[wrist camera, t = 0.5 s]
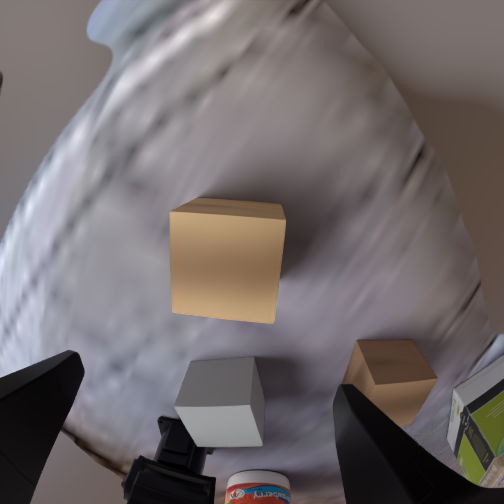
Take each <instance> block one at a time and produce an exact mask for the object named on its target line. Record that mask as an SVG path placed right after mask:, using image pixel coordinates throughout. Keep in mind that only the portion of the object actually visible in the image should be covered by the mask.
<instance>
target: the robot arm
mask: <svg viewBox="0 0 504 504" xmlns="http://www.w3.org/2000/svg"><path fill="white" fill-rule="evenodd" d="M84 373H85V370H84V367H83V364H82V361H81V358H80V355H79V354H78V353H77V352H75V351H71V350H67V351H65V352H62V353H60V354H58V355H55V356H53V357H50V358H48V359H45V360H43V361H41V362H38V363H36V364H33V365H31V366H28V367H26V368H23V369H21V370H19V371H16V372H14V373H11V374H9V375H6V376H4V377H1V378H0V504H30V502H31V499H32V496H33V494H34V491H35V489H36V486H37V483H38V480H39V478H40V475H41V473H42V470H43V468H44V466H45V463H46V460H47V458H48V456H49V454H50V452H51V449H52V447H53V445H54V443H55V441H56V438H57V436H58V434H59V432H60V430H61V428H62V426H63V424H64V422H65V420H66V418H67V416H68V414H69V412H70V409H71V407H72V405H73V402H74V400H75V397H76V395H77V392H78V390H79V387H80V384H81V382H82V379H83V377H84ZM333 413H334V426H335V441H336V449H337V455H338V460H339V465H340V471H341V476H342V482H343V487H344V493H345V499H346V504H504V488H486V487H482V486H479V485H476V484H474V483H472V482H471V481H469V480H467V479H466V478H464V477H463V476H461V475H460V474H458V473H456V472H455V471H453V470H452V469H450V468H449V467H447V466H446V465H445V464H443V463H442V462H440V461H439V460H437V459H436V458H435V457H434V456H433V455H431V454H430V453H429V452H428V451H426V450H425V449H424V448H423V447H422V446H421V445H418V443H417V442H416V441H415V440H414V439H413V438H412V437H410V436H409V435H408V434H407V433H406V432H405V431H404V430H403V429H401V428H400V427H399V426H398V425H397V424H396V423H395V422H394V421H393V420H391V419H390V418H389V417H388V416H387V415H386V414H385V413H384V412H383V411H381V410H380V409H379V408H378V407H377V406H376V405H375V404H374V403H373V402H372V401H371V400H369V399H368V398H367V397H366V396H365V395H364V394H363V393H362V392H361V391H360V390H359V389H358V388H356V387H355V386H354V385H353V384H351V383H348V384H340V385H339V386H338V389H337V392H336V395H335V398H334V402H333ZM157 421H158V425H159V429H160V432H161V436H162V437H161V440H160V443H159V446H158V448H157V451H156V454H155V457H154V460H150V459H147V458H145V457H144V456H141V455H140V456H139V458H138V459H134V462H133V464H132V467H131V469H130V471H129V472H128V474H127V475H126V477H125V478H124V480H123V481H122V483H121V486H122V488H123V489H124V499H125V500H127V501H128V502H127V504H214V496H215V484H216V477H208V476H204V475H202V474H203V469H204V464H205V459H206V455H207V454H209V455H211V454H213V447H197V445H196V443H195V442H194V440H193V438H192V437H191V435H190V434H189V432H188V430H187V429H186V427H185V425H184V423H183V422H182V421H177V420H172V419H167V418H163V417H159V418H158V420H157Z"/></svg>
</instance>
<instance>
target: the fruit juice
mask: <svg viewBox="0 0 504 504" xmlns="http://www.w3.org/2000/svg"><path fill="white" fill-rule="evenodd" d="M225 504H290V483H289V480H288V478H287V477H286V476H284V475H282V474H279V473H276V472H271V471H262V470H252V471H243V472H239V473H236V474H234V475H232V476H231V477H230V479H229V481H228V484H227V491H226V498H225Z"/></svg>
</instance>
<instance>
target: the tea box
mask: <svg viewBox="0 0 504 504" xmlns="http://www.w3.org/2000/svg"><path fill="white" fill-rule="evenodd" d="M447 440H448V442H449V444H450V446H451V448H452V450H453V452H454V454H455V456H456V458H457V460H458V462H459V464H460V466H461V469H462V471H463V473H464V475H465V477H466V479H467V480H469V481H471V482H472V483H474V484H476V485H479V486H482V487H486V488H497V487H499V486H500V485H502V484H503V483H504V354H503V355H502V356H500V357H499V358H498V359H496V360H495V361H494V362H492V363H491V364H490V365H488V366H487V367H485V368H484V369H483V370H481V371H480V372H478V373H477V374H475V375H474V376H472V377H471V378H469V379H468V380H466V381H465V382H463V383H462V384H460V385H458V386H457V387H456V388H454V389H453V399H452V408H451V416H450V423H449V429H448V435H447Z"/></svg>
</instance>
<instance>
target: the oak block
mask: <svg viewBox="0 0 504 504" xmlns="http://www.w3.org/2000/svg"><path fill="white" fill-rule="evenodd" d="M285 227H286V218H285V215H284V212H283V208H282V205H281V204H276V203H265V202H253V201H240V200H227V199H211V198H196V199H194V200H192V201H190V202H188V203H186V204H184V205H182V206H180V207H178V208H176V209H174V210H172V211H170V269H171V294H172V312H173V313H180V314H187V315H194V316H202V317H211V318H219V319H228V320H238V321H248V322H259V323H271V324H274V320H275V313H276V305H277V297H278V289H279V281H280V272H281V264H282V255H283V246H284V237H285Z"/></svg>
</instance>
